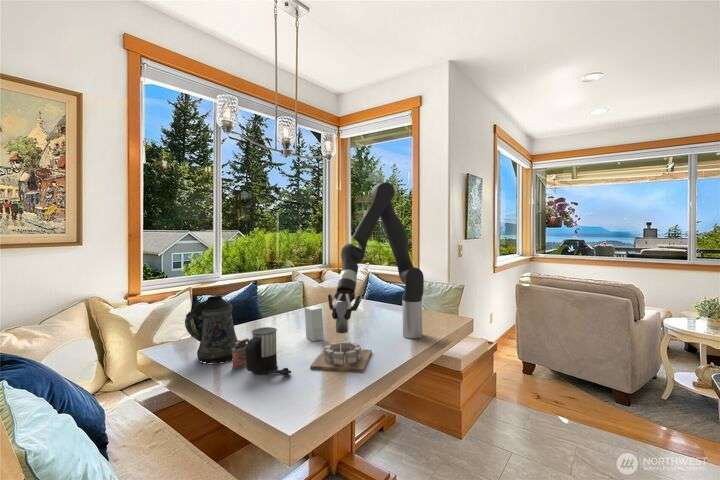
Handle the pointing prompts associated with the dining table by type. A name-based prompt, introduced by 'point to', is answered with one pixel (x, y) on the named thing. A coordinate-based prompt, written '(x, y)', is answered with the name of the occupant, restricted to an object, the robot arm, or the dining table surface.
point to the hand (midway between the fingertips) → (340, 318)
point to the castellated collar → (342, 358)
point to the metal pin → (341, 316)
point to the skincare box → (314, 323)
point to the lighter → (239, 354)
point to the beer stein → (213, 330)
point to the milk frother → (263, 352)
